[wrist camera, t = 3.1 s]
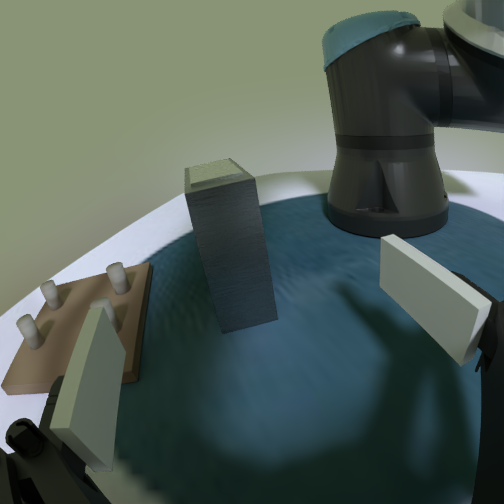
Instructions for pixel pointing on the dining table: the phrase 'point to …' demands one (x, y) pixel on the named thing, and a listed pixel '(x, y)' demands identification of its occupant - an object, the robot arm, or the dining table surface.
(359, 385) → the dining table surface
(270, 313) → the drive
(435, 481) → the dining table surface
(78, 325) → the pin tray
